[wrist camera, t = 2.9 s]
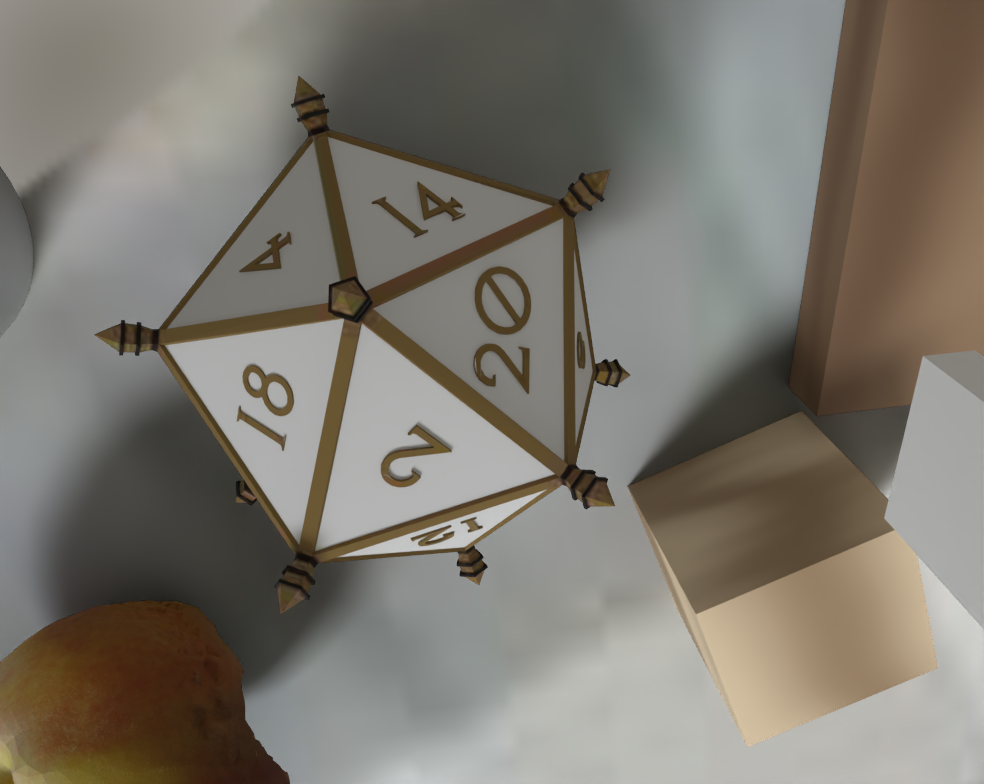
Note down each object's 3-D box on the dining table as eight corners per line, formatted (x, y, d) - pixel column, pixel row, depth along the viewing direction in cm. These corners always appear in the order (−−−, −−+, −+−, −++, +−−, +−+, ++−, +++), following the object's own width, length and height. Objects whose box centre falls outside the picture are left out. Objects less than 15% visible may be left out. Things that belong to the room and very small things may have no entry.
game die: (323, 170, 21) (150, -122, 11) (652, 271, 21) (779, 58, 11) (198, 514, 20) (-114, 531, 10) (540, 631, 20) (561, 769, 10)
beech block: (676, 606, 25) (747, 747, 21) (626, 484, 23) (695, 614, 18) (833, 540, 25) (937, 668, 21) (799, 408, 23) (911, 522, 18)
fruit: (197, 483, 20) (128, 766, 14) (362, 687, 25) (374, 984, 18) (-72, 614, 21) (-270, 950, 14) (135, 792, 25) (59, 1121, 18)
